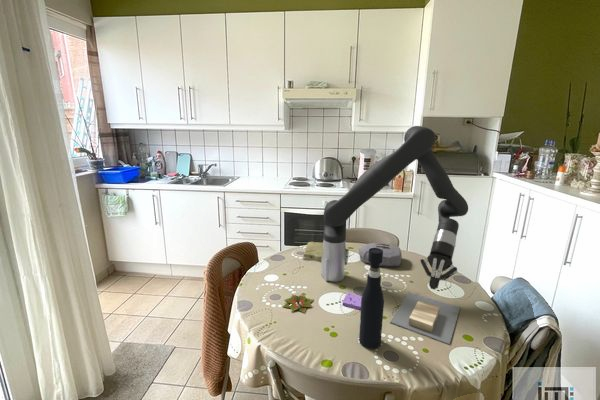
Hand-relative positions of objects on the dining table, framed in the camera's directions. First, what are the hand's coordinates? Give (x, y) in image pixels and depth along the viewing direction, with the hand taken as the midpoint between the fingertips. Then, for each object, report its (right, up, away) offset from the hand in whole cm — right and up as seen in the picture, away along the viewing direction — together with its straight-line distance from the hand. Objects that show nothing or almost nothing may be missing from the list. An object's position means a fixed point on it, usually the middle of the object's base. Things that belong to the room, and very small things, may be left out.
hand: (432, 288), depth 106 cm
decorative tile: (-34, +3, +45) cm, 57 cm away
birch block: (-2, -6, -1) cm, 6 cm away
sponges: (-24, -8, +4) cm, 26 cm away
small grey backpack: (-9, +2, +38) cm, 40 cm away
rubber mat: (-3, -8, -3) cm, 9 cm away
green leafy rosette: (-47, -7, +4) cm, 48 cm away
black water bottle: (-26, -12, -15) cm, 32 cm away
